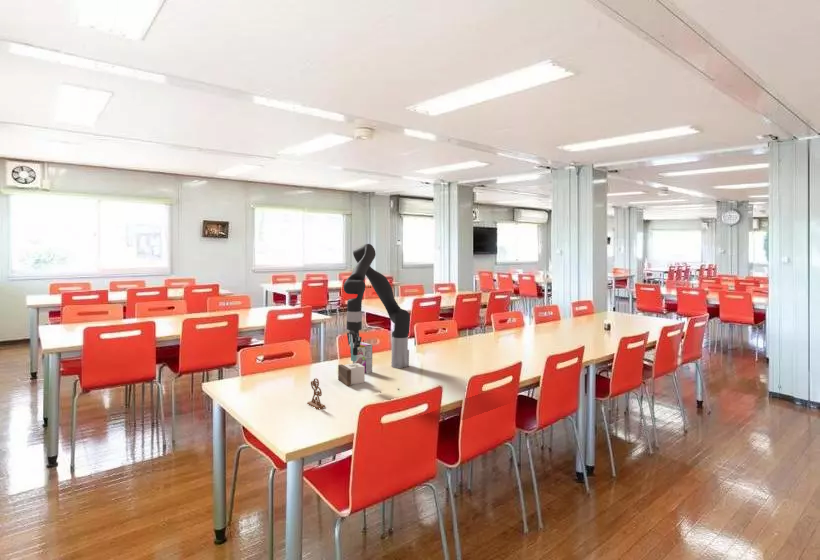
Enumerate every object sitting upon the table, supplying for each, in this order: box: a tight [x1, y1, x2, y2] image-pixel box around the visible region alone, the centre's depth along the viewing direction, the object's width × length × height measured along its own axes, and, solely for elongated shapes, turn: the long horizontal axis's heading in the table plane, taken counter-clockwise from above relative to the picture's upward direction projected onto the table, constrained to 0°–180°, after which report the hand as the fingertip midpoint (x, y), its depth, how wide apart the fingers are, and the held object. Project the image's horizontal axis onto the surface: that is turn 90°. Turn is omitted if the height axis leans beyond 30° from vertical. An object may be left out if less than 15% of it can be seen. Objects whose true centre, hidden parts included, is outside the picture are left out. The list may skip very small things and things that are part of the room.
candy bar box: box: [352, 341, 373, 374], centre depth 257 cm, size 11×5×16 cm, turn 47°
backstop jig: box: [337, 363, 352, 387], centre depth 240 cm, size 26×12×9 cm, turn 119°
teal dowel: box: [350, 338, 357, 362], centre depth 236 cm, size 3×3×12 cm
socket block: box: [343, 363, 366, 385], centre depth 237 cm, size 8×8×8 cm
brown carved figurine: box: [306, 378, 326, 410], centre depth 203 cm, size 9×4×12 cm, turn 42°
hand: (353, 354), depth 236 cm, fingers closed on teal dowel, 2 cm apart
